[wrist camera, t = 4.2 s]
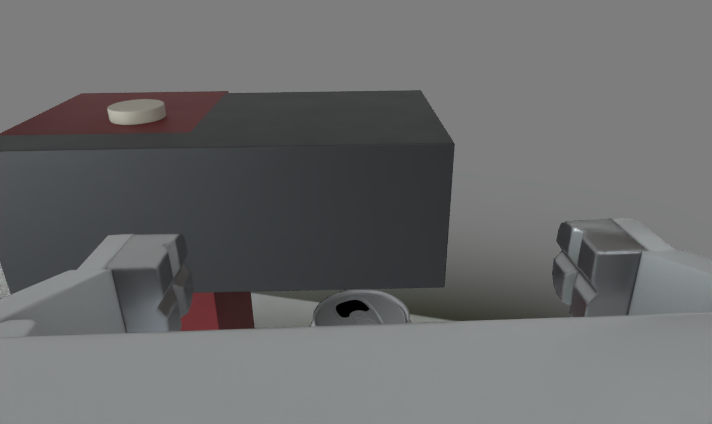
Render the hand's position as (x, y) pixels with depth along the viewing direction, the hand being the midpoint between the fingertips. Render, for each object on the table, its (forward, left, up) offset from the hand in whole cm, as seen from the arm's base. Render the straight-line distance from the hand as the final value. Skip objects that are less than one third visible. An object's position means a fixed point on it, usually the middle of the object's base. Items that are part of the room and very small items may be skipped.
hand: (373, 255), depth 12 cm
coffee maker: (-15, +7, -22) cm, 28 cm away
